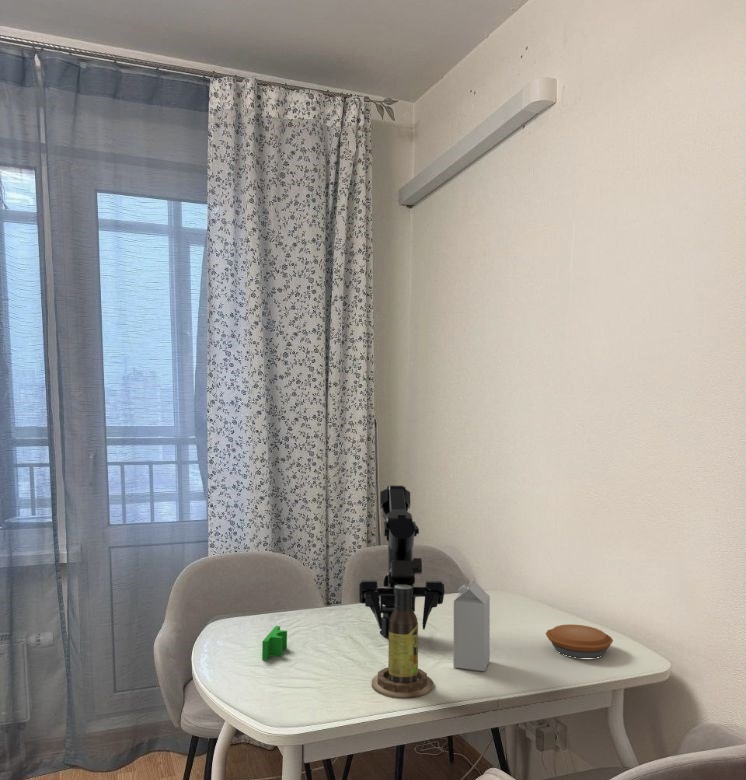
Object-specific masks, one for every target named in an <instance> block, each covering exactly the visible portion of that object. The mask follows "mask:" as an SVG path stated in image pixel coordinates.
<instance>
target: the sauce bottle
mask: <svg viewBox="0 0 746 780" xmlns="http://www.w3.org/2000/svg"><path fill="white" fill-rule="evenodd" d="M394 594H395V604H394V606H395V609H394V611H393V612H392V614H391V616H390V618H389V639H388V657H387V659H388V671H389V681H392V682H396V683H411V682H416V681H417V673H418V669H419V623H418V618H417V615H416V614H415V612H413V610H412V594H413V587H412V586H410V585H396V586H394Z"/></svg>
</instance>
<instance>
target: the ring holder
mask: <svg viewBox="0 0 746 780" xmlns="http://www.w3.org/2000/svg"><path fill="white" fill-rule="evenodd" d="M371 687H372V689H373V690H374V691H375V692H376V693H378V694H380V695H382V696H385V695H386V696H385V697H389V696H390V697H389V698H394V697H395V699H412V698H413V699H414V698H419V697H422V696H425V695H428V694H430V692H432V690H433V688H434V681H433V679H432V678H431V677H429V676H428V673H426V672H425V671H424V670H422V669H421V668H418V673H417V681H416V682H411V683H396V682H392V681H389V671H388V667H385V668H382V669H380V670H378V672H377V674H376V675H374V677H373V678H372V679H371Z"/></svg>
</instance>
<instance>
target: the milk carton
mask: <svg viewBox="0 0 746 780" xmlns="http://www.w3.org/2000/svg"><path fill="white" fill-rule="evenodd" d="M457 592H458V593H459V594H458V595H457V596H456V598H455V599H454V600H453V663H452V664H453V668H456V669H463V670H471V671H478V672H479V671H480V672H485V671H486V670H487V667H488V666H489V663H490V661H491V660H490V658H491V657H490V651H491V650H490V647H491V646H490V645H491V643H490V640H491V639H490V633H491V632H490V630H491V629H490V628H491V627H490V626H491V625H490V624H491V623H490V621H491V620H490V618H491V617H490V616H491V614H490V612H491V611H490V609H491V608H490V607H491V606H490V605H491V601H490V599H491V598H490V597H491V596H490V595H489V593H487V592H486V591H485V590H484V589H483V588H482V587H481V586H480V585H479V584H478V583H477V582H476V577H473V578H472V579H471V581H470V582H469V583H468V586H466V584H462V585H461V586H460V587H459V588H458V589H457Z"/></svg>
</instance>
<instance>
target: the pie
mask: <svg viewBox="0 0 746 780" xmlns="http://www.w3.org/2000/svg"><path fill="white" fill-rule="evenodd" d="M545 635H546V637H547V638H548V640H549V642H551V644H552V646H553V648H554V650H555V651H556V650H557V651H558V652H560V653H561V654H560V653H559V654H560V655H562V654H564V655H567V656H571V657H576V658H597V657H600V656H602V655H603V654H604V655H605V653H606V652H607V650H608V648H610V646H611V645H612V643H613V642H614V639H613V638H612V637H611V636H610V635H608V634H607V633H605V632H604V631H603V630H602V629H598V628H596V627H592V626H588V625H582V624H562V625H557V626H554V628H552V629H548V630H546V632H545ZM557 651H556V652H557ZM558 652H557V653H558ZM564 655H563V656H564ZM604 655H603V656H604ZM567 656H566V657H567ZM603 656H602V657H603ZM571 657H570V658H571ZM576 658H575V659H576ZM600 658H601V657H600ZM597 659H598V658H597Z"/></svg>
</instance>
